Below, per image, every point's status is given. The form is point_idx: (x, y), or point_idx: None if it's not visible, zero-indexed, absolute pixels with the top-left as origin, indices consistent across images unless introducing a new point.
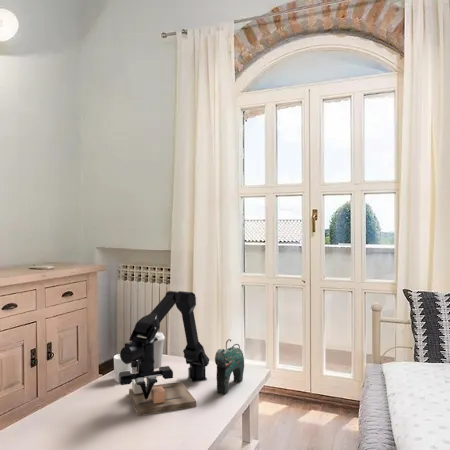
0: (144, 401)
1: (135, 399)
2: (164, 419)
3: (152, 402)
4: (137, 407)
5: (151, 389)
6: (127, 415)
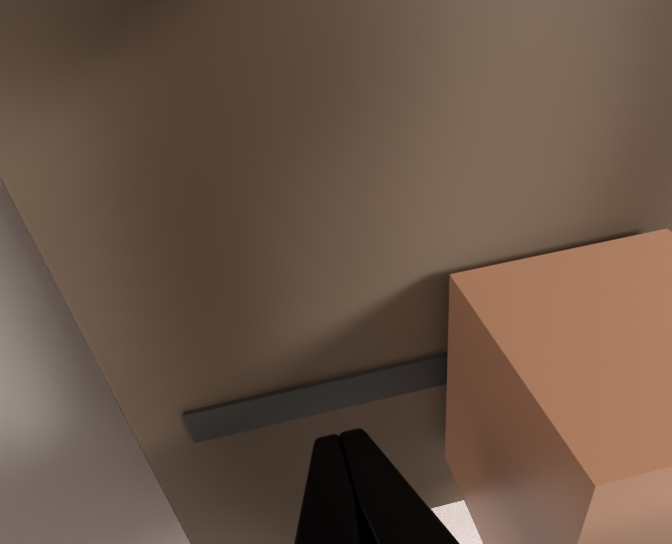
0: (302, 350)
1: (84, 241)
2: (466, 529)
3: (435, 389)
4: (183, 518)
5: (558, 487)
6: (49, 484)
